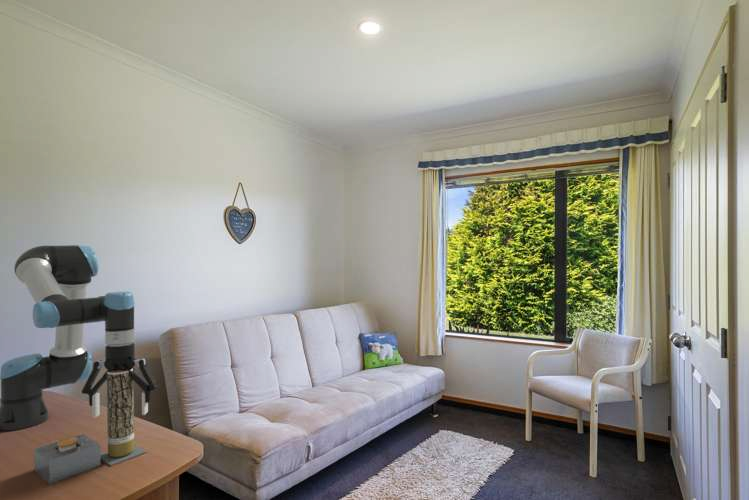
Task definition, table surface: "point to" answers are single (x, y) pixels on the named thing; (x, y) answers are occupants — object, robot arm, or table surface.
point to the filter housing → (66, 459)
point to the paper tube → (120, 413)
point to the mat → (114, 461)
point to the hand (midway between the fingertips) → (120, 414)
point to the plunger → (67, 444)
